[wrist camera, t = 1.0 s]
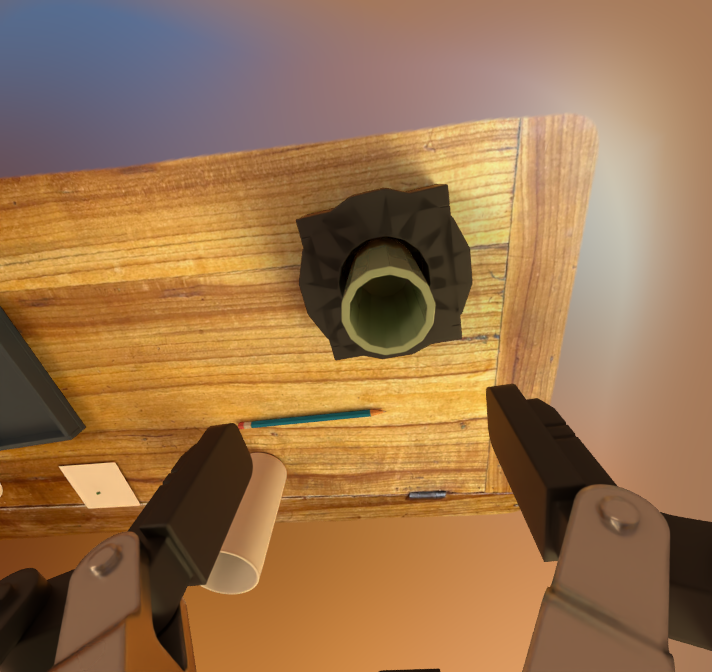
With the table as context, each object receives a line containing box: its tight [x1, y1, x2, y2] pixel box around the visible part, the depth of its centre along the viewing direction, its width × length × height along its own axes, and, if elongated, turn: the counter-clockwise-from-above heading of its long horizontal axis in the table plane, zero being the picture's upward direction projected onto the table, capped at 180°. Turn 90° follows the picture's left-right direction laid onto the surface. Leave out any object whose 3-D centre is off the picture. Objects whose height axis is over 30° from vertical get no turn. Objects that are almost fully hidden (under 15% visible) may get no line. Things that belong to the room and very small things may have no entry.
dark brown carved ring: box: [296, 184, 472, 360], centre depth 28 cm, size 13×13×4 cm
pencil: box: [238, 409, 386, 429], centre depth 37 cm, size 1×17×1 cm, turn 99°
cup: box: [341, 238, 436, 355], centre depth 25 cm, size 6×6×11 cm
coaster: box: [59, 462, 140, 508], centre depth 43 cm, size 8×8×1 cm
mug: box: [200, 453, 287, 594], centre depth 36 cm, size 10×7×12 cm, turn 105°
